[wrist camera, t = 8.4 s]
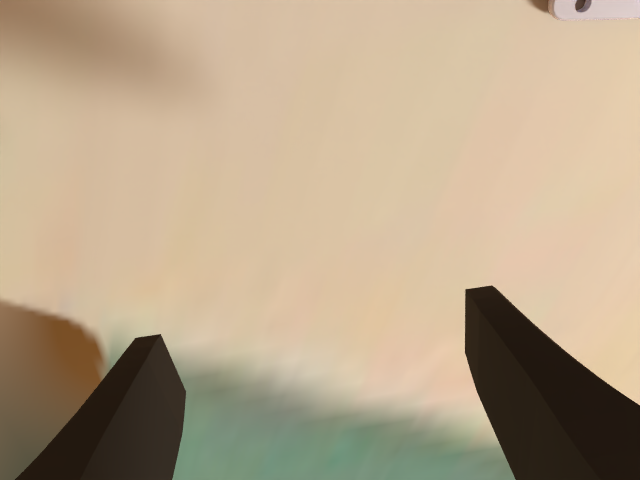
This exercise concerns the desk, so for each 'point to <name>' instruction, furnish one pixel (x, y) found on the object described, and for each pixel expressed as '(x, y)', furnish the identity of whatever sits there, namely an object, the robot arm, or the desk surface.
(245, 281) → the desk surface
